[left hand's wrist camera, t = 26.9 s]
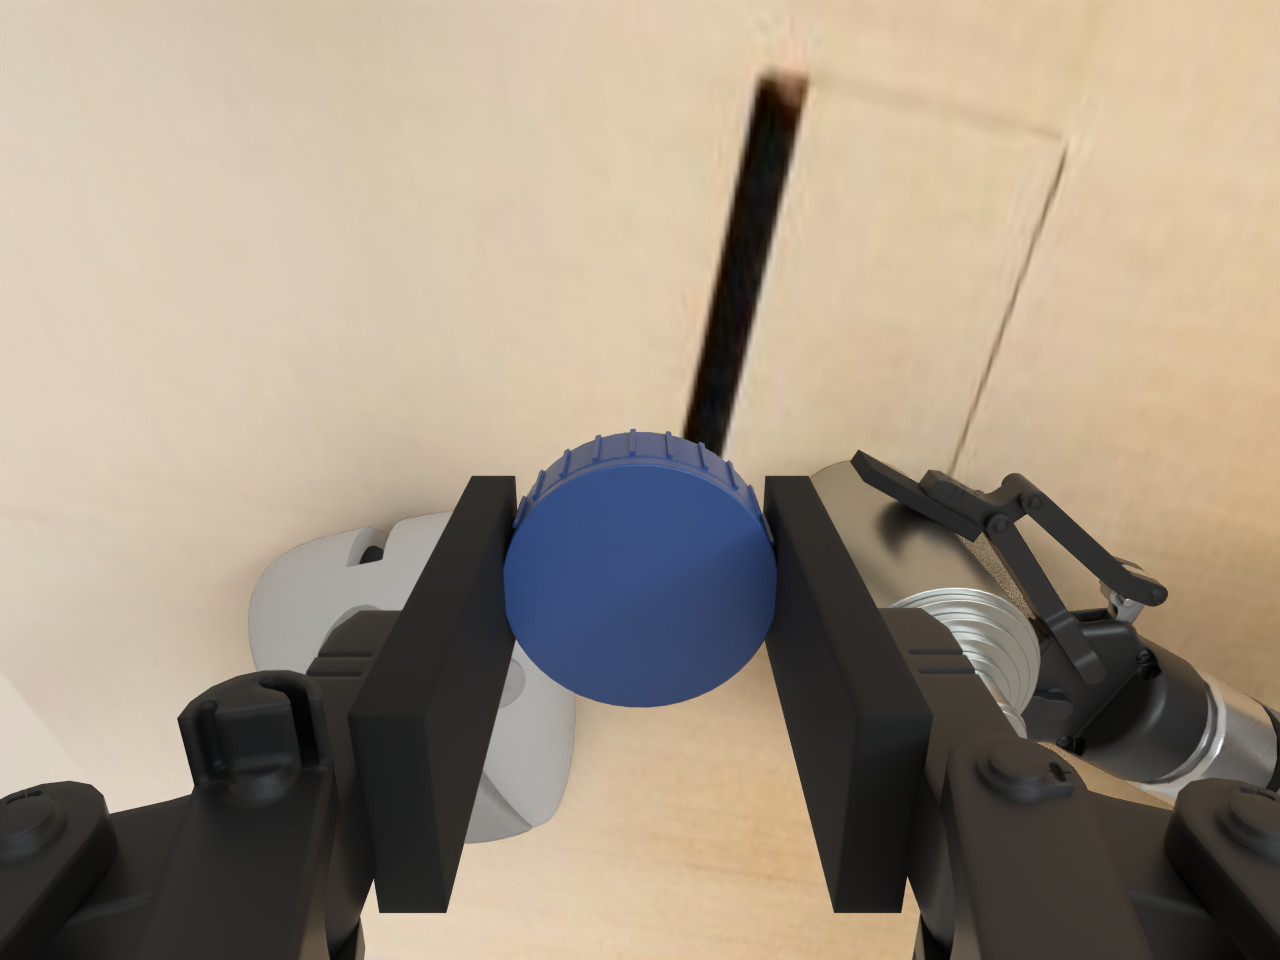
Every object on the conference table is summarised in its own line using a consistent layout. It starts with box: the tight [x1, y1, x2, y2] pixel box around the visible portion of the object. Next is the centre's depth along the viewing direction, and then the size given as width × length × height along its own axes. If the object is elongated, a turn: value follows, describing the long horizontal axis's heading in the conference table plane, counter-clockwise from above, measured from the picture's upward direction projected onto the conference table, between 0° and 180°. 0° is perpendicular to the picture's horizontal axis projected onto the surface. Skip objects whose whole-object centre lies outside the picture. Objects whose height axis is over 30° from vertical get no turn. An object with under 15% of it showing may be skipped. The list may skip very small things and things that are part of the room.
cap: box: [503, 429, 777, 707], centre depth 14 cm, size 5×5×2 cm
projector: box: [248, 511, 575, 843], centre depth 44 cm, size 22×23×15 cm
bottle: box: [810, 460, 1041, 739], centre depth 39 cm, size 8×8×19 cm
